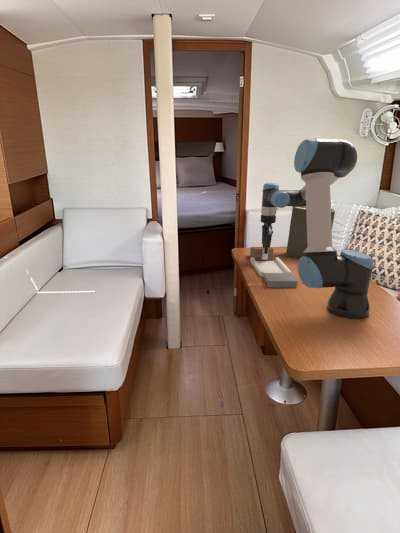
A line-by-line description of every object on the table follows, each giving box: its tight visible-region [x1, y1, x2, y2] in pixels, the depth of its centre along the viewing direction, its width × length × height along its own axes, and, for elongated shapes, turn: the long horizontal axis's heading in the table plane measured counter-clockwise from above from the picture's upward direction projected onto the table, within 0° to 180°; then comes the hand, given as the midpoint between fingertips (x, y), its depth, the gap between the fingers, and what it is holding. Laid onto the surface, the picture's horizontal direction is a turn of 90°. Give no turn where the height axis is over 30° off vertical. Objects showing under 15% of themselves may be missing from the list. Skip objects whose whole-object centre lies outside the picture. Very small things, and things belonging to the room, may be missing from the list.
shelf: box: [249, 256, 293, 277], centre depth 182 cm, size 22×15×3 cm
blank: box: [249, 246, 274, 261], centre depth 197 cm, size 8×10×6 cm
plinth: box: [262, 273, 298, 288], centre depth 166 cm, size 10×13×3 cm
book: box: [286, 206, 336, 259], centre depth 200 cm, size 22×9×28 cm, turn 79°
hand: (264, 258), depth 192 cm, fingers closed
